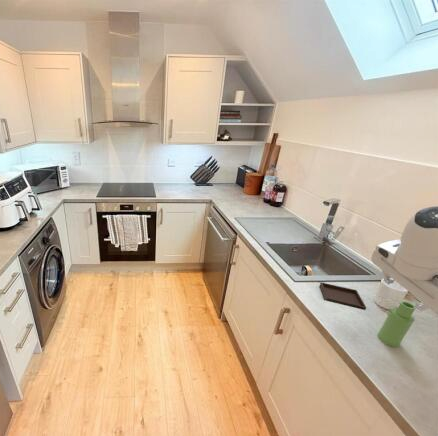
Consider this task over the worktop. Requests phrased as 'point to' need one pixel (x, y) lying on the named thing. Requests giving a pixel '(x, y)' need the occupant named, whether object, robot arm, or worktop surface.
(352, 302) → the tray
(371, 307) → the worktop surface
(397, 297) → the white cup
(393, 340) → the soap bottle
